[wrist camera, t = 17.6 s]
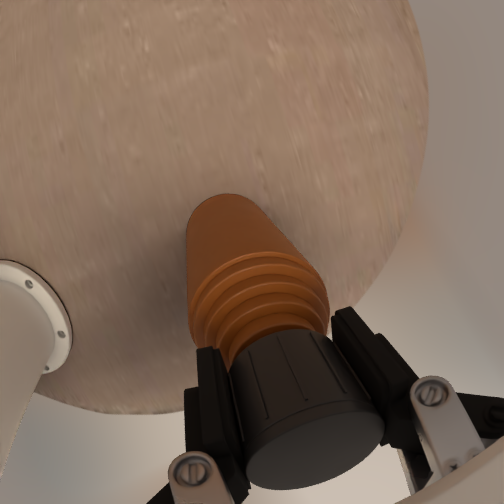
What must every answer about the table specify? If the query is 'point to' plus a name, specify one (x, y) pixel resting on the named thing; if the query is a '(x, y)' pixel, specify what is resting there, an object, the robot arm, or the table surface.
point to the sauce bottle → (246, 278)
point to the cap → (300, 411)
